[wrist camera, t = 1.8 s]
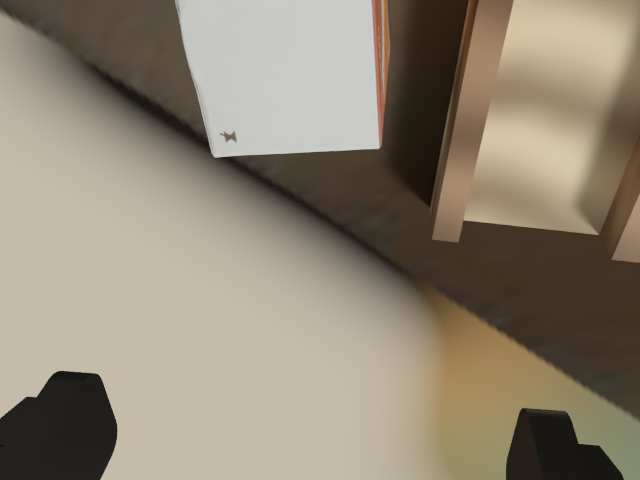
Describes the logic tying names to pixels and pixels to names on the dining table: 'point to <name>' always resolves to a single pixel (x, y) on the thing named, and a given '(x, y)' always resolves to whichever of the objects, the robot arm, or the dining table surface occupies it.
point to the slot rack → (545, 122)
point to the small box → (288, 73)
